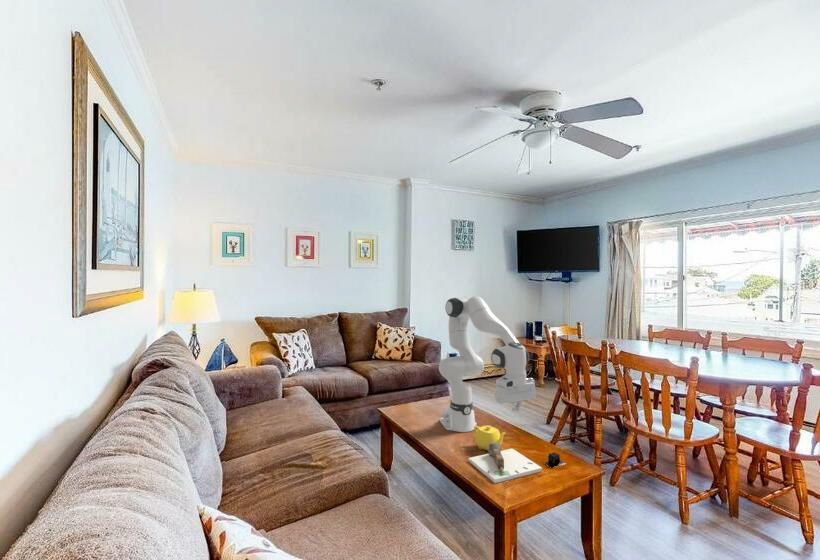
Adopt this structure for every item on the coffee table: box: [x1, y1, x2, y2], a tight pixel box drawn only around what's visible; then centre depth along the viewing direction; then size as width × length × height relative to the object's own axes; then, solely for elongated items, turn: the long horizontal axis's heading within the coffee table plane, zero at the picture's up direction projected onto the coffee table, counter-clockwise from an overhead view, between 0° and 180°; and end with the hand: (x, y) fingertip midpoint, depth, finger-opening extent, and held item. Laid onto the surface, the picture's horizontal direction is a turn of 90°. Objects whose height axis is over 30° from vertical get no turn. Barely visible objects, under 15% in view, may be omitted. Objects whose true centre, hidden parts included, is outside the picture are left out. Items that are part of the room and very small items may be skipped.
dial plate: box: [468, 448, 543, 484], centre depth 169 cm, size 20×24×2 cm
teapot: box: [473, 425, 507, 453], centre depth 186 cm, size 18×11×11 cm, turn 45°
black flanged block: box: [544, 452, 567, 469], centre depth 171 cm, size 12×7×5 cm, turn 118°
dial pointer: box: [488, 443, 504, 474], centre depth 168 cm, size 20×5×4 cm, turn 179°
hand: (515, 410), depth 172 cm, fingers closed
